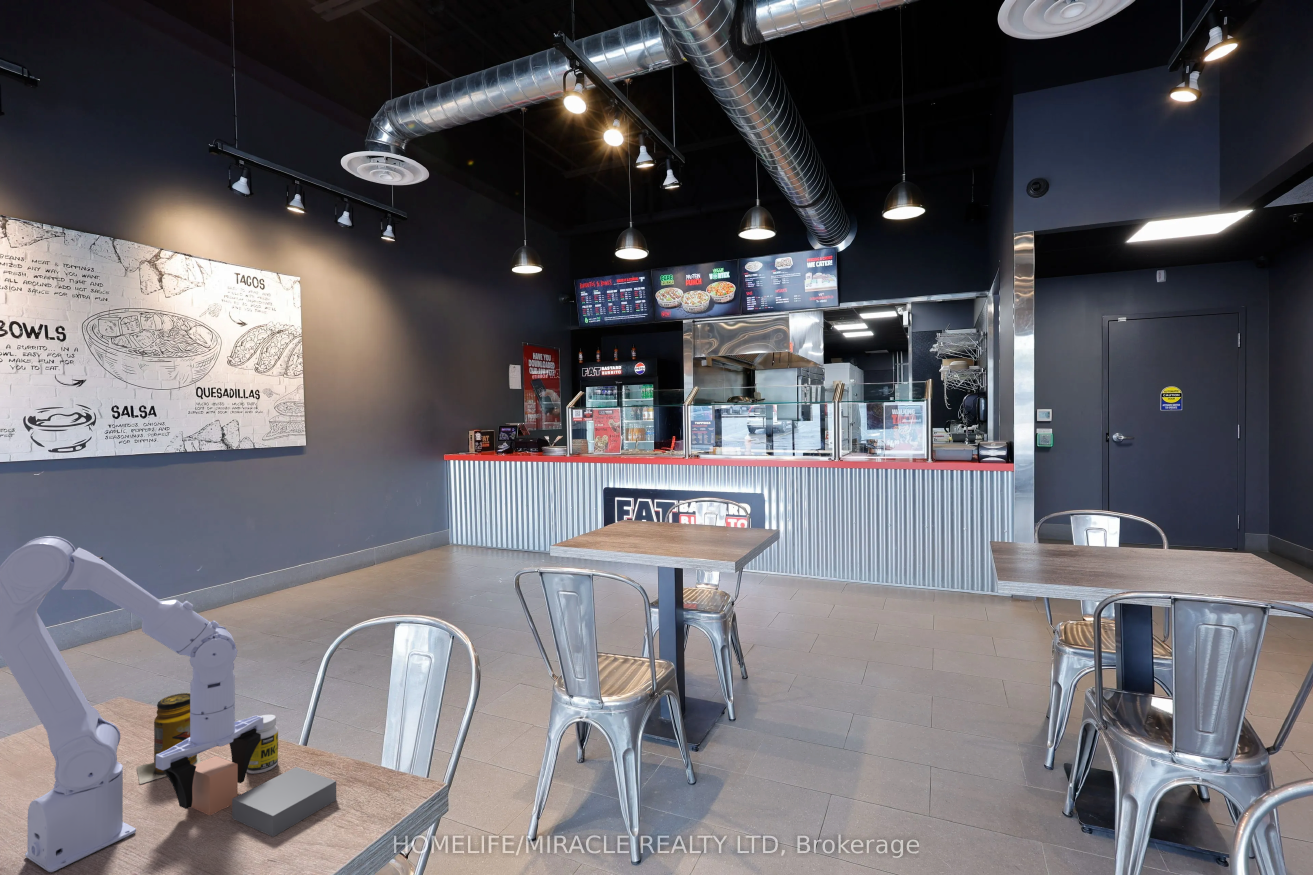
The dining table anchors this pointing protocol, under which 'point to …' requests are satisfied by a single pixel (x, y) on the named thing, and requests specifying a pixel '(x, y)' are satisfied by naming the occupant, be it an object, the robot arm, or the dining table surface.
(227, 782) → the top brick
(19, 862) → the dining table surface
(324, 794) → the base brick
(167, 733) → the condiment
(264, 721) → the supplement bottle
